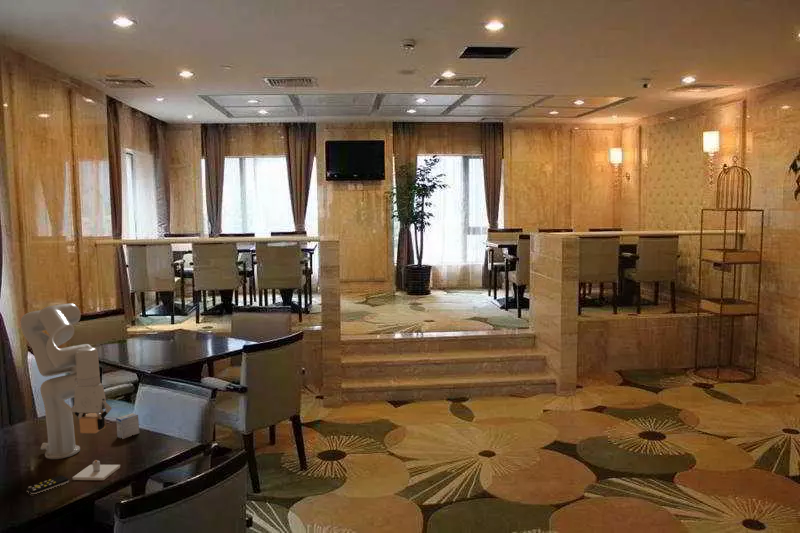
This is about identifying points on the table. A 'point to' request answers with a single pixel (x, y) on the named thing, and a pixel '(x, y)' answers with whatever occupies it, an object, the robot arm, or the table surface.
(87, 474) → the post base
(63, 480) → the remote control
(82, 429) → the cardboard shipping carton
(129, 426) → the medicine box
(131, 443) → the table surface
